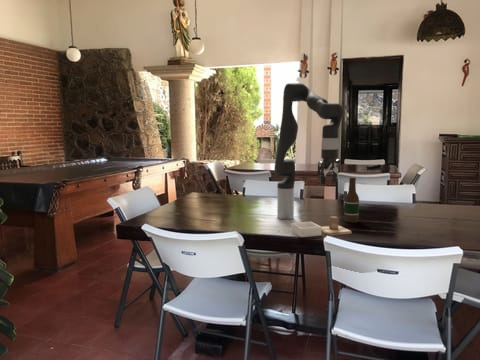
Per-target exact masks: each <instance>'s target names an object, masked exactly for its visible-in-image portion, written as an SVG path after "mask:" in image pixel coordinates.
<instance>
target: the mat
mask: <svg viewBox="0 0 480 360" xmlns="http://www.w3.org/2000/svg"><path fill="white" fill-rule="evenodd" d="M321 233H325V232H323V231H321ZM325 234H326V233H325ZM347 234H348V235H350V234H351V233H342V234H333V235H329V236H340V235H347Z"/></svg>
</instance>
